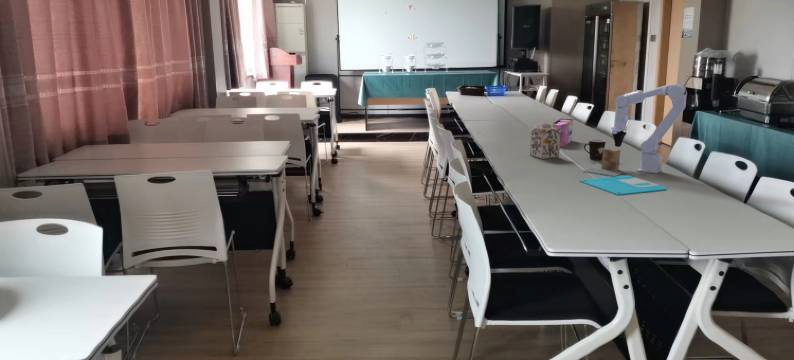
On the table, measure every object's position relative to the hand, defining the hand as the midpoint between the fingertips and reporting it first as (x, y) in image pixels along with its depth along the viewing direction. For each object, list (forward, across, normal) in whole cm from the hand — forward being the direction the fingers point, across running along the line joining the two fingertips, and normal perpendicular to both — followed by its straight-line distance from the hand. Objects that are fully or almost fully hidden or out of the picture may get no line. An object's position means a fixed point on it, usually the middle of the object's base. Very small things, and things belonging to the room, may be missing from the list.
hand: (617, 146), depth 309 cm
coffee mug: (+11, -11, -17) cm, 23 cm away
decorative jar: (+11, 0, -40) cm, 41 cm away
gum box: (+11, -44, -51) cm, 68 cm away
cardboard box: (+10, +8, 0) cm, 14 cm away
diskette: (+11, +36, +17) cm, 41 cm away
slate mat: (+10, +17, 0) cm, 20 cm away
